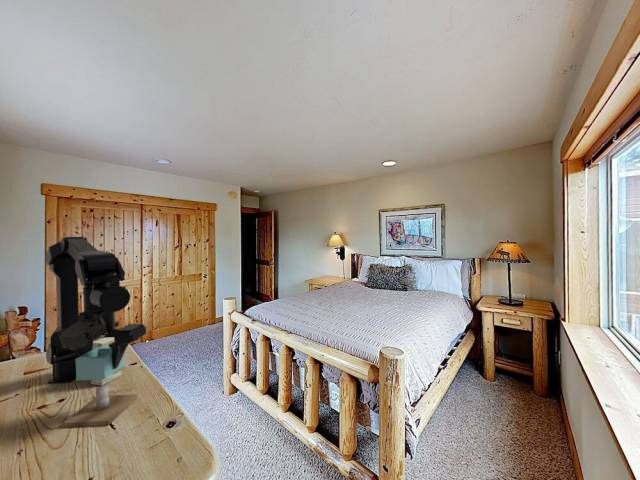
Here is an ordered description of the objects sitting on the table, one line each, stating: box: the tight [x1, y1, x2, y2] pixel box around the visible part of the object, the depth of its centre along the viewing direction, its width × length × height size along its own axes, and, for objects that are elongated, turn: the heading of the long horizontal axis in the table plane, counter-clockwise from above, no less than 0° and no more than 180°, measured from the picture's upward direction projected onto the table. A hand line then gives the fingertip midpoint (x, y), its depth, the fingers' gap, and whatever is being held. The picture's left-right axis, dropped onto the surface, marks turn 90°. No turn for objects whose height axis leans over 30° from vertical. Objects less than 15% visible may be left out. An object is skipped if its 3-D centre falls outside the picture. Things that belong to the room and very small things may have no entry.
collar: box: [75, 347, 125, 381], centre depth 65 cm, size 6×6×5 cm
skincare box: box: [90, 337, 123, 386], centre depth 79 cm, size 6×4×12 cm
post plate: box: [62, 384, 138, 428], centre depth 65 cm, size 10×10×6 cm
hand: (101, 368), depth 65 cm, fingers closed on collar, 6 cm apart
